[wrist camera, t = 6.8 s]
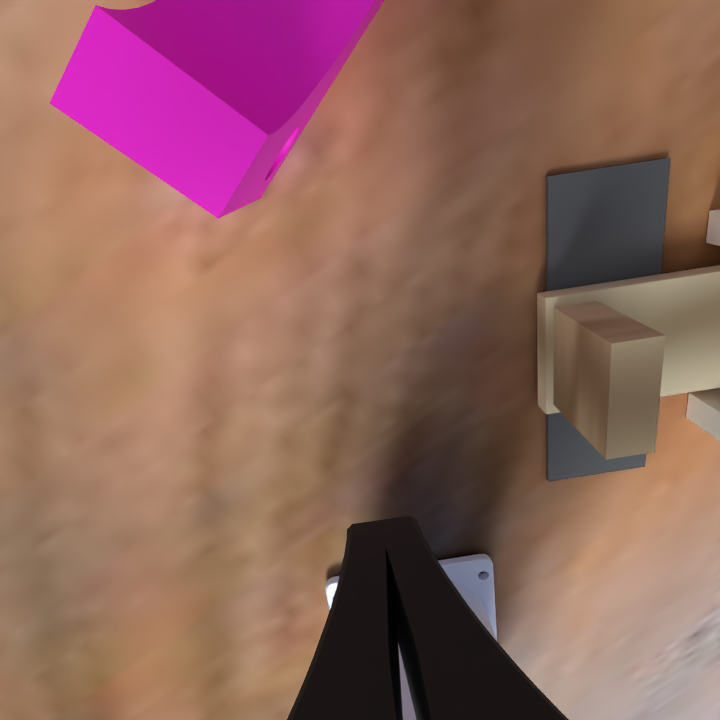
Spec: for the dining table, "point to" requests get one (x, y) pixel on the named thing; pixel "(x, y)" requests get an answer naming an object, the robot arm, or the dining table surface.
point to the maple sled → (627, 353)
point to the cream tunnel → (714, 406)
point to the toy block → (209, 86)
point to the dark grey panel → (600, 267)
